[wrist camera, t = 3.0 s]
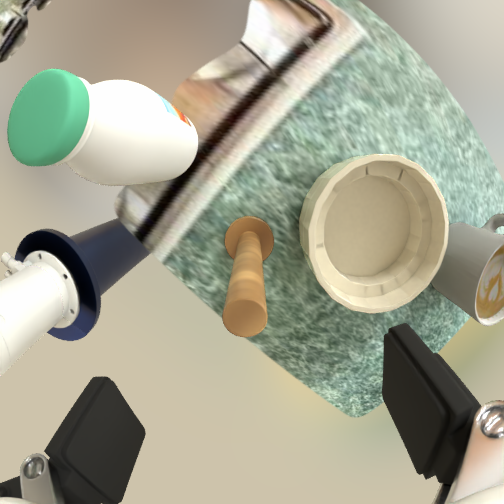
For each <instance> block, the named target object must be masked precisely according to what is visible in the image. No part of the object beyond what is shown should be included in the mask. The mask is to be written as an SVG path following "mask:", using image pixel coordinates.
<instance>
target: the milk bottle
mask: <svg viewBox="0 0 504 504" xmlns="http://www.w3.org/2000/svg"><path fill="white" fill-rule="evenodd" d="M7 130H8V131H7V133H8V143H9V147H10V150H11V152H12V154H13V156H14V157H15V158H16V159H17V160H18V161H19V162H21V163H22V164H25V165H27V166H47V165H53V166H54V165H61V164H63V163H66V164H67V165H68V166H69V167H70V168H71V169H72V170H73V171H74V172H76V173H77V174H78V175H79V176H81V177H82V178H84V179H86V180H88V181H90V182H94V183H96V184H100V185H108V186H123V185H134V184H144V183H153V182H162V181H167V180H171V179H174V178H176V177H178V176H179V175H181V174H182V173H184V172H185V171H186V170H187V169H188V168H189V166H190V165H191V164H192V162H193V160H194V158H195V156H196V153H197V148H198V136H197V132H196V129H195V127H194V125H193V124H192V122H191V121H190V120H189V119H188V118H187V117H186V116H185V115H184V114H183V113H181V112H180V111H179V110H178V109H177V108H175V107H174V106H173V105H172V104H170V103H169V102H168V101H166V100H165V99H164V98H162V97H161V96H160V95H158V94H157V93H155V92H154V91H152V90H150V89H149V88H147V87H145V86H143V85H141V84H138V83H135V82H132V81H127V80H109V81H104V82H100V83H97V84H94V85H90V84H89V83H88V82H87V81H86V80H84V79H82V78H79V77H77V76H75V75H74V74H72V73H69V72H67V71H64V70H61V69H48V70H44V71H42V72H40V73H38V74H36V75H35V76H34V77H33V78H31V79H30V80H29V81H28V82H27V83H26V84H25V86H24V87H23V88H22V89H21V91H20V92H19V94H18V96H17V97H16V99H15V102H14V104H13V106H12V109H11V112H10V116H9V121H8V129H7Z"/></svg>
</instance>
